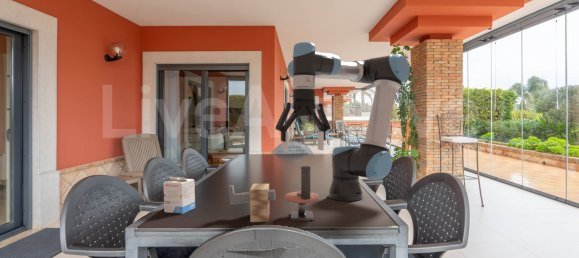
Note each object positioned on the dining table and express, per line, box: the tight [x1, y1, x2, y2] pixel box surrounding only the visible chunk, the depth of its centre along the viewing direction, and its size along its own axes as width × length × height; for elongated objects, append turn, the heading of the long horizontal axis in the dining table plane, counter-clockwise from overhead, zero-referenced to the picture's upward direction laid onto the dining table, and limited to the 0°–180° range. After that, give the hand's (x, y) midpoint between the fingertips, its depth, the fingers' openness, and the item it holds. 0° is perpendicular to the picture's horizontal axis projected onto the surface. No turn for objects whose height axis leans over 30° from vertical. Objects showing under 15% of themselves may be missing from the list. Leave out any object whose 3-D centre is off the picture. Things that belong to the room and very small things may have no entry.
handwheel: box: [284, 165, 320, 204], centre depth 116 cm, size 12×12×12 cm
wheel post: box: [290, 203, 315, 222], centre depth 117 cm, size 8×8×6 cm
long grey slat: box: [227, 184, 276, 206], centre depth 116 cm, size 16×3×6 cm, turn 90°
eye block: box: [249, 183, 270, 223], centre depth 116 cm, size 6×10×11 cm, turn 1°
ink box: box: [163, 176, 196, 215], centre depth 126 cm, size 9×8×13 cm
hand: (303, 150), depth 112 cm, fingers open, 13 cm apart
